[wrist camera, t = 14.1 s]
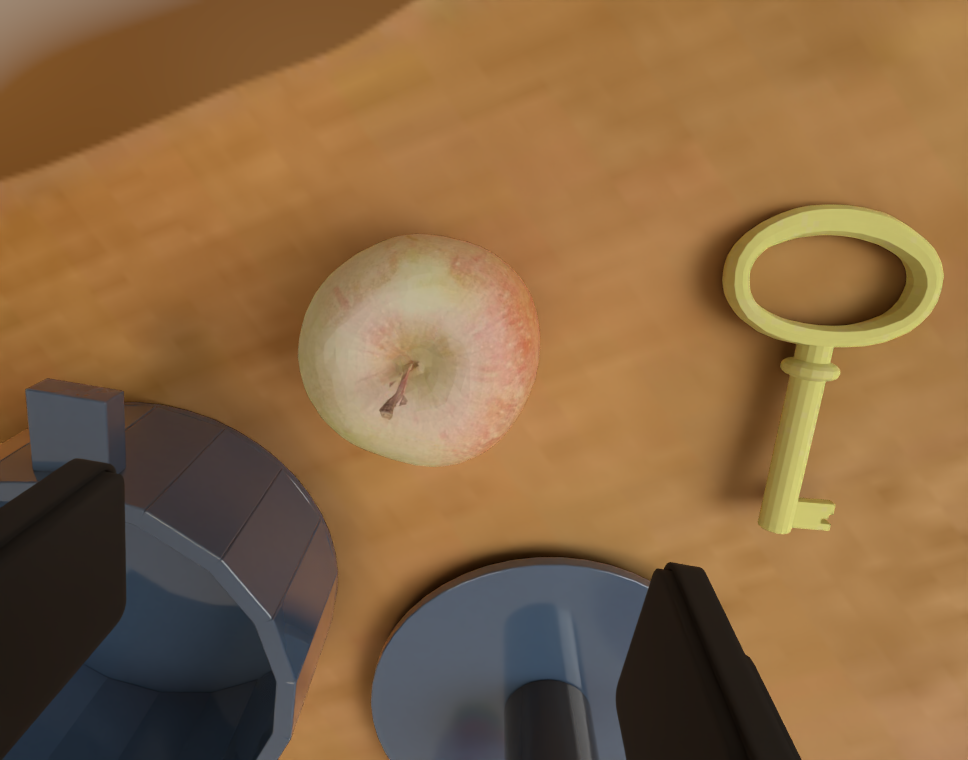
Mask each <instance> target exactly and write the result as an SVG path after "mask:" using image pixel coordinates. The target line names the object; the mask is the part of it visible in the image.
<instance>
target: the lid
mask: <svg viewBox="0 0 968 760" xmlns="http://www.w3.org/2000/svg"><path fill="white" fill-rule="evenodd" d="M650 582H651V581H649V580H647V579H645V578H643V577H641V576H639V575H637V574H635V573H633V572H630V571H627V570H624V569H621V568H618V567H615V566H612V565H609V564H604V563H600V562H595V561H591V560H586V559H576V558H566V557H533V558H525V559H516V560H509V561H505V562H501V563H496V564H492V565H488V566H485V567H482V568H479V569H476V570H474V571H471V572H468V573H465V574H463V575H461V576H459V577H457V578H455V579H453V580H451V581H449V582H447V583H445V584H443V585H441V586H440V587H438V588H437V589H435V590H434V591H432V592H431V593H429V594H428V595H426V596H425V597H424V598H423V599H421V600H420V601H419V602H418V603H417V604H416V605H415V606H413V607H412V608H411V609H410V610H409V611H408V612H407V613H406V614H405V616H404V617H403V618H402V619H401V620H400V621H399V623H398V624H397V625H396V626H395V628H394V629H393V631H392V632H391V634H390V636H389V637H388V639H387V640H386V642H385V644H384V646H383V649H382V651H381V653H380V656H379V658H378V661H377V665H376V670H375V674H374V678H373V682H372V691H371V708H372V717H373V722H374V726H375V729H376V733H377V736H378V739H379V741H380V743H381V745H382V747H383V749H384V751H385V753H386V755H387V756H388V758H389V759H390V760H626V755H625V750H624V745H623V740H622V735H621V730H620V725H619V720H618V715H617V710H616V688H617V684H618V681H619V678H620V675H621V671H622V668H623V665H624V662H625V659H626V656H627V653H628V650H629V647H630V644H631V640H632V637H633V634H634V631H635V628H636V625H637V622H638V619H639V616H640V613H641V610H642V606H643V603H644V600H645V597H646V594H647V591H648V588H649V585H650Z"/></svg>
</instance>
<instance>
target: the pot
mask: <svg viewBox="0 0 968 760" xmlns="http://www.w3.org/2000/svg"><path fill="white" fill-rule="evenodd" d="M25 393H26V404H27V415H28V426H29V428H27V429H25V430H24V431H22V432H20V433H19V434H17V435H15V436H14V437H12V438H10V439H9V440H7V441H5V442H4V443H2V444H0V508H1V507H2V506H4V505H5V504H7V503H8V502H10V501H11V500H13V499H14V498H15V497H17V496H18V495H20V494H21V493H23V492H24V491H26V490H27V489H29V488H30V487H32V486H33V485H35V484H36V483H38V482H39V481H41V480H42V479H44V478H45V477H47V476H48V475H49V474H51V473H52V472H54V471H55V470H57V469H58V468H60V467H61V466H63V465H64V464H66V463H67V462H69V461H70V460H73V459H75V458H80V459H86V460H92V461H97V462H103V463H109V464H112V465H113V466H114V467H115V469H116V473H117V474H120V475H122V476H123V478H124V483H125V542H126V606H125V610H124V613H123V615H122V617H121V619H120V621H119V622H118V624H117V625H116V626H115V627H114V628H113V630H112V631H111V632H110V633H109V634H108V635H107V637H106V638H105V639H104V640H103V641H102V643H101V644H100V645H99V646H98V647H97V648H96V650H95V651H94V652H93V653H92V654H91V655H90V657H89V658H88V659H87V660H86V661H85V663H84V664H83V665H82V666H81V667H80V668H79V670H78V671H77V672H76V673H75V674H74V675H73V677H72V678H71V679H70V680H69V681H68V683H67V684H66V685H65V686H64V687H63V688H62V690H61V691H60V692H59V693H58V694H57V695H56V697H55V698H54V699H53V700H52V701H51V703H50V704H49V705H48V706H47V707H46V708H45V710H44V711H43V712H42V713H41V714H40V715H39V717H38V718H37V719H36V720H35V721H34V723H33V724H32V725H31V726H30V727H29V728H28V730H27V731H26V732H25V733H24V734H23V735H22V737H21V738H20V739H19V740H18V741H17V743H16V744H15V745H14V746H13V747H12V748H11V750H10V751H9V752H8V753H7V754H6V755H5V757H4V758H3V759H2V760H278V759H279V757H280V756H281V754H282V752H283V751H284V749H285V748H286V746H287V745H288V743H289V741H290V740H291V737H292V735H293V732H294V729H295V726H296V723H297V720H298V717H299V715H300V712H301V709H302V706H303V703H304V700H305V697H306V694H307V692H308V689H309V686H310V683H311V680H312V677H313V674H314V672H315V669H316V666H317V663H318V660H319V657H320V654H321V651H322V649H323V646H324V643H325V640H326V637H327V634H328V631H329V629H330V626H331V623H332V619H333V610H334V605H335V600H336V595H337V584H338V569H337V561H336V553H335V549H334V546H333V542H332V539H331V535H330V532H329V530H328V528H327V525H326V523H325V521H324V519H323V516H322V514H321V512H320V511H319V509H318V507H317V506H316V504H315V502H314V501H313V499H312V497H311V496H310V494H309V493H308V492H307V490H306V489H305V488H304V487H303V485H302V484H301V483H300V482H299V480H298V479H297V478H296V477H295V476H294V475H293V474H292V473H291V472H290V471H289V470H288V469H287V468H286V467H285V466H284V465H283V464H282V463H281V462H280V461H279V460H278V459H277V458H276V457H274V456H273V455H272V454H271V453H269V452H268V451H267V450H265V449H264V448H263V447H262V446H260V445H259V444H258V443H256V442H255V441H253V440H251V439H250V438H248V437H246V436H245V435H243V434H242V433H240V432H238V431H237V430H235V429H233V428H230V427H228V426H226V425H224V424H222V423H220V422H218V421H216V420H214V419H211V418H208V417H205V416H202V415H199V414H197V413H194V412H191V411H188V410H184V409H179V408H175V407H170V406H166V405H160V404H151V403H141V402H124V391H122V390H116V389H110V388H104V387H98V386H92V385H86V384H80V383H74V382H68V381H62V380H56V379H50V378H47V379H44V380H42V381H40V382H39V383H37V384H35V385H33V386H31V387H29V388H27V389H26V390H25Z"/></svg>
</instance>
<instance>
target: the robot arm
mask: <svg viewBox="0 0 968 760" xmlns="http://www.w3.org/2000/svg"><path fill="white" fill-rule="evenodd" d="M125 606H126V542H125V483H124V478H123V476H122V475H120V474H117V473H116V469H115V467H114V466H113V465H112V464H109V463H103V462H97V461H92V460H86V459H80V458H75V459H73V460H70V461H69V462H67V463H66V464H64V465H63V466H61V467H60V468H58V469H57V470H55V471H54V472H52V473H51V474H49V475H48V476H47V477H45V478H44V479H42V480H41V481H39V482H38V483H36V484H35V485H33V486H32V487H30V488H29V489H27V490H26V491H24V492H23V493H21V494H20V495H18V496H17V497H15V498H14V499H13V500H11V501H10V502H8V503H7V504H5V505H4V506H2V507H1V508H0V760H2V759H3V758H4V757H5V755H6V754H7V753H8V752H9V751H10V750H11V748H12V747H13V746H14V745H15V744H16V743H17V741H18V740H19V739H20V738H21V737H22V735H23V734H24V733H25V732H26V731H27V730H28V728H29V727H30V726H31V725H32V724H33V723H34V721H35V720H36V719H37V718H38V717H39V715H40V714H41V713H42V712H43V711H44V710H45V708H46V707H47V706H48V705H49V704H50V703H51V701H52V700H53V699H54V698H55V697H56V695H57V694H58V693H59V692H60V691H61V690H62V688H63V687H64V686H65V685H66V684H67V683H68V681H69V680H70V679H71V678H72V677H73V675H74V674H75V673H76V672H77V671H78V670H79V668H80V667H81V666H82V665H83V664H84V663H85V661H86V660H87V659H88V658H89V657H90V655H91V654H92V653H93V652H94V651H95V650H96V648H97V647H98V646H99V645H100V644H101V643H102V641H103V640H104V639H105V638H106V637H107V635H108V634H109V633H110V632H111V631H112V630H113V628H114V627H115V626H116V625H117V624H118V622H119V621H120V619H121V617H122V615H123V613H124V610H125ZM616 710H617V715H618V720H619V725H620V730H621V735H622V740H623V745H624V750H625V755H626V760H801V758H800V756H799V754H798V752H797V750H796V748H795V746H794V744H793V742H792V740H791V738H790V736H789V733H788V731H787V729H786V727H785V725H784V723H783V721H782V719H781V717H780V715H779V713H778V711H777V709H776V707H775V705H774V703H773V701H772V699H771V697H770V695H769V693H768V691H767V689H766V687H765V685H764V683H763V681H762V679H761V677H760V675H759V673H758V671H757V669H756V667H755V665H754V663H753V662H752V660H751V659H750V657H748V656H747V655H745V653H744V651H743V649H742V647H741V645H740V643H739V641H738V639H737V637H736V635H735V633H734V631H733V629H732V627H731V624H730V622H729V620H728V618H727V616H726V614H725V612H724V610H723V608H722V606H721V604H720V602H719V600H718V598H717V596H716V594H715V591H714V589H713V587H712V585H711V583H710V581H709V579H708V577H707V575H706V573H705V571H704V570H703V569H702V568H700V567H695V566H689V565H683V564H678V563H672V562H670V563H667V565H666V566H665V568H664V570H663V569H656V570H655V571H654V573H653V576H652V579H651V582H650V585H649V588H648V591H647V594H646V597H645V600H644V603H643V606H642V610H641V613H640V616H639V619H638V622H637V625H636V628H635V631H634V634H633V637H632V640H631V644H630V647H629V650H628V653H627V656H626V659H625V662H624V665H623V668H622V671H621V675H620V678H619V681H618V684H617V688H616Z"/></svg>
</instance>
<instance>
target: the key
mask: <svg viewBox="0 0 968 760" xmlns="http://www.w3.org/2000/svg"><path fill="white" fill-rule="evenodd" d="M818 235H836V236H846V237H854V238H858V239H861V240H865V241H868V242H871V243H875V244H878V245H880V246H882V247H884V248H885V249H887V250H889V251H891V252H892V253H894V254H895V255H897V256H898V257H899V258H900V259H901V261H902V263H903V265H904V267H905V270H906V276H907V277H906V285H905V287H904V290H903V292H902V294H901V296H900V298H899V299H898V301H897V302H896V303H895V304H894V306H893V307H892V308H891V309H889V310H888V311H887V312H885V313H884V314H882V315H880V316H877V317H875V318H872V319H869V320H866V321H864V322H860V323H855V324H850V325H841V326H825V325H814V324H806V323H801V322H796V321H792V320H788V319H784V318H782V317H779V316H777V315H775V314H772V313H770V312H768V311H767V310H765V309H764V308H762V307H761V306H759V305H758V304H757V303H756V302H755V300H754V299H753V296H752V294H751V291H750V283H749V281H750V271H751V268H752V265H753V263H754V262H755V260H756V259H757V257H758V256H759V255H760V254H761V253H762V252H763V251H764V250H766V249H767V248H769V247H771V246H774V245H777V244H779V243H782V242H785V241H789V240H792V239H795V238H800V237H808V236H818ZM943 277H944V274H943V269H942V263H941V261H940V259H939V257H938V255H937V252H936V250H935V249H934V248H933V247H932V246H931V245H930V243H929V242H928V241H927V240H926V239H925V238H923V237H922V236H921V235H920V234H918V233H917V232H916V231H914V230H913V229H912V228H910V227H909V226H908V225H906V224H904V223H903V222H901V221H900V220H898V219H896V218H895V217H893V216H890V215H888V214H886V213H883V212H880V211H876V210H872V209H868V208H864V207H857V206H851V205H833V204H826V205H809V206H804V207H799V208H795V209H792V210H789V211H786V212H783V213H780V214H778V215H776V216H774V217H771V218H769V219H767V220H765V221H763V222H761V223H760V224H758V225H757V226H755V227H754V228H753V229H751V230H750V231H748V232H747V233H745V234H744V235H743V236H742V237H741V238H740V239H739V240H738V241H737V242H736V243H735V244H734V246H733V247H732V249H731V250H730V252H729V253H728V255H727V258H726V261H725V265H724V268H723V277H722V284H723V290H724V295H725V297H726V299H727V301H728V303H729V305H730V306H731V308H732V309H733V311H734V312H735V313H736V315H737V316H738V317H739V318H740V319H741V320H743V321H744V322H746V323H747V324H748V325H750V326H751V327H752V328H754V329H755V330H756V331H758V332H760V333H762V334H765V335H767V336H769V337H772V338H774V339H777V340H782V341H786V342H790V343H795V344H797V345H796V349H795V354H794V357H787V358H785V359H783V360H782V362H781V364H780V368H781V369H782V370H783V371H784V372H785V373H786V374H788V375H790V377H789V381H788V386H787V390H786V395H785V400H784V404H783V409H782V413H781V418H780V423H779V427H778V432H777V436H776V441H775V446H774V450H773V455H772V459H771V464H770V468H769V473H768V478H767V482H766V487H765V491H764V496H763V501H762V505H761V510H760V514H759V519H758V524H759V526H761V527H762V528H763V529H765V530H767V531H770V532H773V533H778V534H787V533H790V531H791V528H802V529H814V530H826V531H829V529H830V525H831V524H830V523H829V522H828V521H826V520H825V519H828V517H829V515H833V513H834V509H835V504H834V503H833V502H832V501H830V500H822V499H810V498H799V494H800V489H801V485H802V481H803V476H804V472H805V468H806V464H807V459H808V455H809V451H810V447H811V442H812V438H813V434H814V429H815V425H816V421H817V417H818V412H819V408H820V404H821V400H822V395H823V391H824V387H825V382H826V381H833V380H835V379H837V378H838V377H839V375H840V369H839V368H838V367H837V366H836V365H834V364H832V363H830V361H831V357H832V352H833V348H834V347H859V346H869V345H874V344H878V343H883V342H887V341H889V340H891V339H894V338H896V337H899V336H901V335H904V334H906V333H908V332H910V331H911V330H913V329H914V328H915V327H917V326H918V325H919V324H921V323H922V322H923V321H924V319H925V318H926V317H927V316H928V315H929V314H930V313H931V311H932V310H933V308H934V307H935V305H936V304H937V301H938V298H939V296H940V293H941V290H942V284H943Z"/></svg>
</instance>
